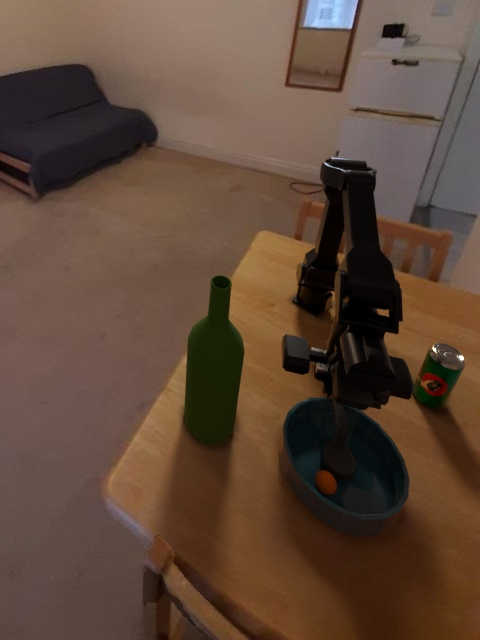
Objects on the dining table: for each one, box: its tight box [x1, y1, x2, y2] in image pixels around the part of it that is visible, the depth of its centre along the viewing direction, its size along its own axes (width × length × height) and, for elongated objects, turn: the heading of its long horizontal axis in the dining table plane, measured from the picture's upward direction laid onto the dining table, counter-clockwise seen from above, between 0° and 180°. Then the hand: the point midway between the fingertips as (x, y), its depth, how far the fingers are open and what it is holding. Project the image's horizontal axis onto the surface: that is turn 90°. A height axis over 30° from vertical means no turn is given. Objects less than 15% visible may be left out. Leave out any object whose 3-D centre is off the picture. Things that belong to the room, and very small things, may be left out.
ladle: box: [320, 382, 356, 483], centre depth 68 cm, size 16×5×7 cm, turn 162°
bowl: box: [278, 396, 410, 538], centre depth 64 cm, size 17×17×6 cm
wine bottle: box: [183, 274, 245, 446], centre depth 66 cm, size 9×9×32 cm
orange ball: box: [315, 470, 337, 495], centre depth 62 cm, size 3×3×3 cm
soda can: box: [413, 342, 466, 410], centre depth 72 cm, size 5×5×12 cm
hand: (333, 396), depth 70 cm, fingers closed on ladle
